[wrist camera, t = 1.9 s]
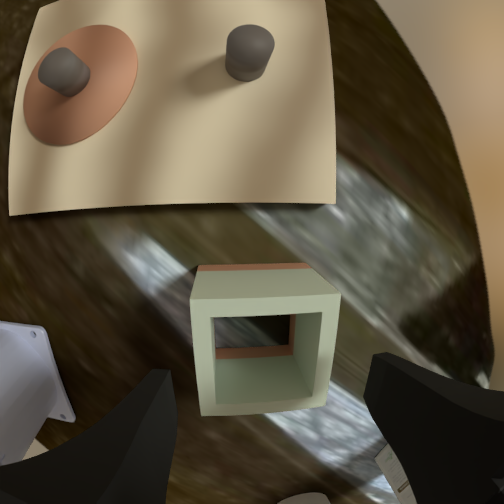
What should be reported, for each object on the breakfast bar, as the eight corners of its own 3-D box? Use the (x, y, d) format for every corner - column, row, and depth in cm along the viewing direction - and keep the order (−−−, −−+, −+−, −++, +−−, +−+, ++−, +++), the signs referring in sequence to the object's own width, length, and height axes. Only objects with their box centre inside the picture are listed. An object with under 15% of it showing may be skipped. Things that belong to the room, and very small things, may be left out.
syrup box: (371, 459, 20) (434, 571, 6) (411, 414, 20) (499, 524, 6) (406, 459, 22) (467, 551, 7) (442, 418, 21) (520, 506, 7)
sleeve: (204, 358, 16) (201, 415, 11) (198, 265, 15) (189, 299, 10) (299, 353, 17) (325, 405, 12) (305, 262, 16) (340, 293, 11)
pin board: (18, 214, 13) (-18, 221, 10) (45, 14, 10) (23, -8, 7) (328, 202, 15) (357, 207, 12) (317, -10, 12) (335, -40, 9)
